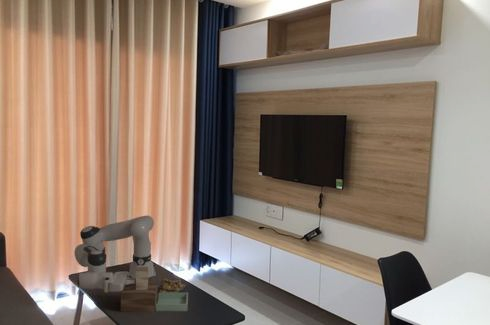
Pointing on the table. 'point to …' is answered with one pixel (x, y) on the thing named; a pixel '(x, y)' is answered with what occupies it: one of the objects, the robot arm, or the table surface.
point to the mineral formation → (171, 286)
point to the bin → (172, 302)
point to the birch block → (142, 277)
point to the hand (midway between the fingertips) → (134, 280)
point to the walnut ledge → (139, 298)
